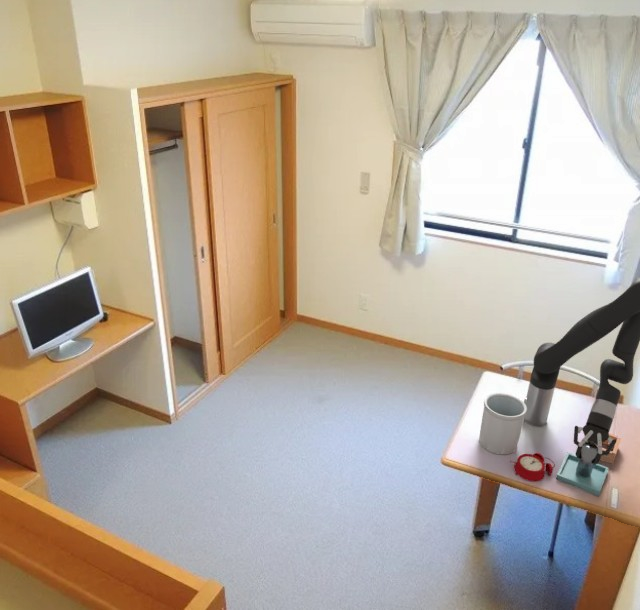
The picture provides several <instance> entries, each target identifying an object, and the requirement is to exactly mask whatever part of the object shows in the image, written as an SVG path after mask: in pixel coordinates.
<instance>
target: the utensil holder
mask: <svg viewBox="0 0 640 610" xmlns="http://www.w3.org/2000/svg"><path fill="white" fill-rule="evenodd" d="M526 411H527V407H526V405H525V403H524V400H523V399H522V400H521V398H520V397H517V396H514V395H512V394H508V393H504V392H503V393H502V392H494V393H490V394H488V395H487V396H485V398H484V401H483V412H482V417H481V424H480V430H479V443H480V445H481V446H482V447H483V448H484V449H485V450H487V451H488V452H490V453H492V454H496V455H510V454H512V453H514V452H515V451H516V450H517V448H518V444H519V439H520V436H521V432H522V428H523V424H524V422H525V421H524V417H525V414H526Z"/></svg>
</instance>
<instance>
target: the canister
mask: <svg viewBox="0 0 640 610" xmlns="http://www.w3.org/2000/svg"><path fill="white" fill-rule="evenodd" d="M597 446H598V445H597V444H595V443H593V442H589V441H588V442H585V443H583V445H582V449H581V453H580V456H579V460H578V463H577V467H576V472H577V473H578V474H579V475H581V476H583V477H589V476H591V473H592V470H593V466H594V461H595V458H596V455H597V453H598V447H597Z"/></svg>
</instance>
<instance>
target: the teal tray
mask: <svg viewBox="0 0 640 610" xmlns="http://www.w3.org/2000/svg"><path fill="white" fill-rule="evenodd" d="M578 460H579V459H578V458H577V456H576V454H574V453H570V452H566V454H565V456H564V458H563V461H562V463H561V466H559V469H558V471H557V474H556V477H555V480H558V481H559V482H562V483H565V484H567V485H569V486H572V487H575V488H577V489H580V490H582V491H585V492H587V493H589V494H592V495H594V496H597V497H599V496H600V494H601V491H602V489H603V485H604V482H605V480H606V477H607V474H608V471H609V469H610V468H609V467H607V466H605V465H603V464H600V463H599V464H596V465H594V466H593V470H592V473H591V476H589V477H583V476H581V475H579V474H578V473H577V472H576V467H577V463H578Z"/></svg>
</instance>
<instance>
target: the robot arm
mask: <svg viewBox="0 0 640 610" xmlns="http://www.w3.org/2000/svg"><path fill="white" fill-rule="evenodd" d="M620 325H621V327H620V328H619V326H620ZM617 328H619V331H618V333H617V336H616V338H615V342H614V344H613V347H612V350H611V352H612V355H613V356H615V357H616V358H617V359H619V360H621V361H623V362H620V361H617V360H614V359H611V358H607V359H604V360H603V361H602V362H601V364H600V367H599V387H598V389H597V393H596V396H595V399H594V401H593V403H592V405H591V408H590V411H589V413H588V417H587V419H586V422H585V424H584V426H583V427H581V426H578V425H575V426H574V427H573V428H574V430H573V444H575V445H576V446H577V447H576V451H575V454H574V455H576V456H577V458H578V459H579V456H580V453H581V449H582V445H583V443H585V442H587V441H588V442H590V443H593V444H595V445H597V446H598V454H597V455H596V458H595V461H594V465H596V464H600V461H601V460H600V458H601V456H602V455H606V456H607V455H608V454H609V453H610V451H613V449H614V445H615V444H616V440H615V439H612V438H610V437H609V433H610V431H611V427H612V424H613V421H614V419H615V416H616V410H617V406H618V403H619V400H620V398H621V390H620V389H618V388H617V387H615V386H614V385H612V384H611V383H610V382H609V381H612V382H615V383H618V384H622V385H627V384H629V383H630V382H631V381H633V377H634V361H635V356H636V354H637V353H636V352H637V349H638V347H639V344H640V275H639V276H638V277H636V278H635V279H634V280H633V282H632V283H631V284H630V286H629V287H628V288H627V289H626V290H624V291H623V293H622V294H620V295H619V296H618V297H616V299H614V300H612V301H611V302H609V303H608V304H605V305H602V306H601V307H599V308H596V309H595V310H594V309H593V311H591V312H589V313H588V314H587V315H585V316H584V317H582V318H581V319H580V320H578V321H577V322H576V323H575V324H574V325H573V326H572V327H571V328H570V329H569V330H568V331H567V332H566V333H565V334H564V335H563V336H562V338H560V339H559V340H558V341H557V342H555V343H553V342H544V343H542V344H541V345H540V346H538V348H537V350H536V352H535V354H534V357H533V368H532V372H531V375H530V379H529V384H528V388H527V393H526V396H525V398H524V400H523V402H524V403H525V405H526V407H527V411H526V414H525V417H524V421H523V422H526V423H527V424H528V425H531V426H533V427H542V426H545V425H546V424H547V422H548V418H549V414H550V408H551V405H552V400H553V397H554V394H555V392H554V391H555V389H556V384H557V381H558V377H559V373H560V369H561V367H563V366H564V365H565V363H567V362H568V361H569V360H571V359H572V358H573V357H575V356H576V355H578V354H579V353H581V352H583V351H584V350H586V349H588V348H590V346H592V345H594V344H595V343H597V342H599V341H600V340H601V339H603V338H604V337H606V336H607V335H609V334H610V333H611V332H612V331H615V329H617ZM582 432H583V434H584V436H585V437H584V436H583V438H582V439H581V441H579V440H578V438H579V434H581V433H582ZM607 439H608V440H609V442H608V443H609V444H610V445H607V447H606V448H605V449H606V451H602V448H603V445H602V444H603V442H604V441H606V440H607Z"/></svg>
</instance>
